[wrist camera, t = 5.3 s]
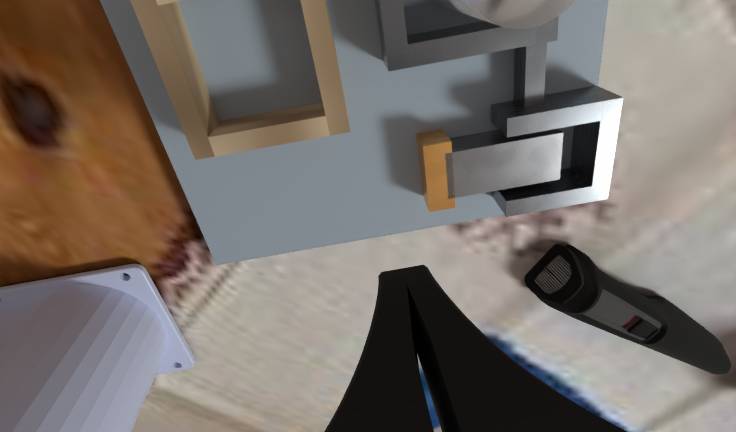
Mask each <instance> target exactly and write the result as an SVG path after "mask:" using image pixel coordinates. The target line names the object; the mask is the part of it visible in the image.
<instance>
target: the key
mask: <svg viewBox="0 0 736 432" xmlns="http://www.w3.org/2000/svg"><path fill="white" fill-rule="evenodd" d="M563 134H564V132H562V131H561V130H559V129H552V130H546V131H541V132H535V133H530V134H524V135H519V136H513V137H506V136H505V135H504V134H503V133H502V132H501V131H500V130H499V129H497V130H492V131H486V132H481V133H475V134H470V135H464V136H458V137H453V138H449V137H448V136H447V134H446V133H445V131H444V130H443V129H438V130H433V131H427V132H421V133H416V137H417V146H418V155H419V165H420V174H421V183H422V193H423V197H424V200H425V202H426V205H427V208H428V210H429V212H433V211H439V210H445V209H450V208H456V206H455V198H458V197H463V196H469V195H475V194H480V193H486V192H492V191H497V190H503V189H509V188H514V187H520V186H526V185H531V184H537V183H542V182H548V181H554V180H559V179H560V171H561V159H562V146H563Z"/></svg>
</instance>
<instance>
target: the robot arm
mask: <svg viewBox="0 0 736 432" xmlns="http://www.w3.org/2000/svg"><path fill="white" fill-rule="evenodd" d="M124 273H126V274H128V275H129V276H126V275H125V274H124ZM417 354H418V357H419V360H420V363H421V366H422V369H423V372H424V376H425V379H426V382H427V385H428V388H429V391H430V394H431V397H432V400H433V404H434V407H435V410H436V413H437V416H438V419H439V422H440V426H441V429H442V432H626V431H624V430H623V429H621V428H619V427H617V426H615V425H613V424H612V423H610V422H608V421H606V420H604V419H602V418H600V417H599V416H597V415H595V414H593V413H591V412H590V411H588V410H586V409H584V408H583V407H581V406H580V405H578V404H576V403H575V402H573V401H572V400H570V399H568V398H567V397H565V396H563V395H562V394H560V393H559V392H557V391H556V390H555V389H553V388H552V387H550V386H549V385H547V384H546V383H544V382H543V381H542V380H540V379H539V378H537V377H536V376H534V375H533V374H531V373H530V372H529V371H527V370H526V369H525V368H523V367H522V366H521V365H519V364H518V363H517V362H516V361H514V360H513V359H512V358H510V357H509V356H508V355H507V354H506V353H504V352H503V351H502V350H501V349H500V348H499V347H497V346H496V345H495V344H494V343H493V342H492V341H491V340H489V339H488V338H487V337H486V336H485V335H484V334H483V333H482V332H481V331H480V330H479V329H478V328H477V327H476V326H475V325H474V324H473V323H472V322H471V321H470V320H469V319H468V318H467V317H466V316H465V315H464V314H463V313H462V312H461V310H460V309H459V308H458V307H457V306H456V305H455V304H454V303H453V302H452V300H451V299H450V298H449V297H448V296H447V294H446V293H445V292H444V291H443V289H442V288H441V287H440V286H439V284H438V283H437V281H436V280H435V279H434V277H433V276H432V274H431V273H430V271H429V269H428V268H427V267H426V266H424V265H419V266H414V267H408V268H402V269H397V270H391V271H385V272H381V274H380V275H379V286H378V295H377V301H376V306H375V311H374V315H373V319H372V323H371V327H370V330H369V334H368V337H367V340H366V343H365V346H364V349H363V352H362V355H361V358H360V360H359V363H358V365H357V368H356V370H355V373H354V375H353V377H352V380H351V382H350V384H349V386H348V388H347V390H346V393H345V395H344V397H343V399H342V401H341V403H340V405H339V407H338V409H337V411H336V413H335V414H334V416H333V418H332V420H331V421H330V423H329V425H328V426H327V428H326V430H325V432H434V431H433V427H432V423H431V419H430V415H429V411H428V407H427V403H426V398H425V394H424V390H423V386H422V382H421V378H420V373H419V366H418V357H417ZM194 363H195V357H194V356H193V354H192V352H191V350H190V348H189V346H188V345H187V343H186V341H185V339H184V337H183V336H182V334H181V332H180V330H179V328H178V327H177V325H176V323H175V321H174V319H173V318H172V316H171V314H170V312H169V310H168V308H167V307H166V305H165V303H164V301H163V299H162V298H161V296H160V294H159V292H158V290H157V289H156V287H155V285H154V283H153V281H152V280H151V278H150V276H149V274H148V272H147V270H146V269H145V268H144V267H143V266H141V265H139V264H129V265H123V266H118V267H112V268H106V269H101V270H95V271H89V272H84V273H78V274H72V275H67V276H61V277H55V278H50V279H44V280H38V281H33V282H27V283H21V284H16V285H10V286H4V287H0V432H131V430H132V428H133V426H134V423H135V421H136V419H137V417H138V414H139V412H140V410H141V407H142V405H143V403H144V401H145V398H146V396H147V394H148V391H149V389H150V387H151V385H152V382H153V380H154V378H155V375H156V374H162V373H167V372H173V371H179V370H185V369H190V368H192V367H193V366H194Z"/></svg>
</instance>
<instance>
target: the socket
mask: <svg viewBox="0 0 736 432" xmlns="http://www.w3.org/2000/svg"><path fill="white" fill-rule="evenodd" d="M375 6H376V14H377V21H378V28H379V36H380V43H381V50H382V58H383V62H384V64H385V66H386V68H387V69H388V71H394V70H400V69H405V68H410V67H416V66H421V65H427V64H432V63H438V62H443V61H448V60H454V59H459V58H465V57H470V56H476V55H481V54H487V53H492V52H497V51H503V50H508V49H514V100H513V101H507V102H502V103H496V104H491V123H492V124H494V125H495V126H496V127H497V128H498V129H499V130H500V131H501V132H502V133H503V134H504V135H505V136H506V137H513V136H519V135H524V134H530V133H535V132H541V131H546V130H552V129H558V128H563V127H569V126H574V131H573V141H572V151H571V162H570V168H566V169H561V171H560V179H559V180H554V181H548V182H542V183H537V184H531V185H526V186H520V187H514V188H509V189H503V190H497V191H492V197H493V199H494V200H495V201H496V203H497V204H498V206H499V207H500V209H501V210H502V211H503V213H504V214H505V216H506V217H508V216H514V215H519V214H525V213H531V212H536V211H542V210H548V209H553V208H559V207H565V206H570V205H576V204H582V203H587V202H593V201H599V200H605V199H608V194H609V188H610V181H611V175H612V168H613V162H614V155H615V149H616V142H617V136H618V129H619V122H620V116H621V109H622V103H623V97H621V96H619V95H616V94H614V93H612V92H610V91H607V90H605V89H603V88H600V87H598V86H590V87H585V88H579V89H574V90H568V91H563V92H557V93H551V94H546V95H544V91H545V73H546V55H547V42H552V41H557V36H558V21H559V16H557V17H556V18H554V19H553V20H551V21H549V22H547V23H545V24H542V25H540V26H537V27H533V28H528V29H510V28H504V27H501V26H499V25H496V24H493V23H490V22H487V21H482V22H476V23H471V24H466V25H460V26H455V27H450V28H444V29H439V30H433V31H428V32H423V33H417V34H412V35H407V32H406V23H405V13H404V4H403V0H375Z"/></svg>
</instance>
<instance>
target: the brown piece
mask: <svg viewBox="0 0 736 432" xmlns="http://www.w3.org/2000/svg"><path fill="white" fill-rule="evenodd" d="M130 1H131V3H132V6H133V8H134V11H135V13H136V16H137V18H138V21H139V23H140V25H141V28H142V30H143V33H144V35H145V38H146V40H147V43H148V45H149V48H150V50H151V53H152V55H153V57H154V60H155V62H156V65H157V67H158V70H159V72H160V75H161V77H162V80H163V82H164V85H165V87H166V90H167V92H168V94H169V97H170V99H171V102H172V104H173V107H174V109H175V112H176V114H177V117H178V119H179V122H180V124H181V126H182V129H183V131H184V134H185V136H186V139H187V141H188V144H189V146H190V149H191V151H192V154H193V156H194V158H195V160H199V159H205V158H210V157H216V156H221V155H227V154H232V153H238V152H243V151H249V150H254V149H260V148H265V147H271V146H276V145H282V144H287V143H293V142H298V141H304V140H309V139H315V138H320V137H326V136H331V135H337V134H342V133H348V132H350V126H349V117H348V111H347V106H346V101H345V96H344V90H343V85H342V80H341V75H340V69H339V64H338V59H337V54H336V48H335V43H334V38H333V33H332V27H331V22H330V17H329V12H328V6H327V1H326V0H300V1H301V5H302V10H303V15H304V19H305V24H306V28H307V33H308V37H309V42H310V47H311V51H312V56H313V60H314V65H315V69H316V74H317V79H318V83H319V88H320V92H321V97H322V101H323V102H322V103H317V104H311V105H306V106H300V107H295V108H290V109H284V110H279V111H273V112H268V113H262V114H257V115H251V116H246V117H240V118H235V119H229V120H224V121H220V120H219V117H218V114H217V112H216V109H215V106H214V103H213V100H212V97H211V95H210V92H209V89H208V86H207V83H206V81H205V78H204V75H203V72H202V69H201V66H200V64H199V61H198V58H197V55H196V52H195V50H194V47H193V44H192V41H191V38H190V35H189V33H188V30H187V27H186V24H185V21H184V18H183V16H182V13H181V10H180V7H179V4H178V1H183V0H130Z"/></svg>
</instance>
